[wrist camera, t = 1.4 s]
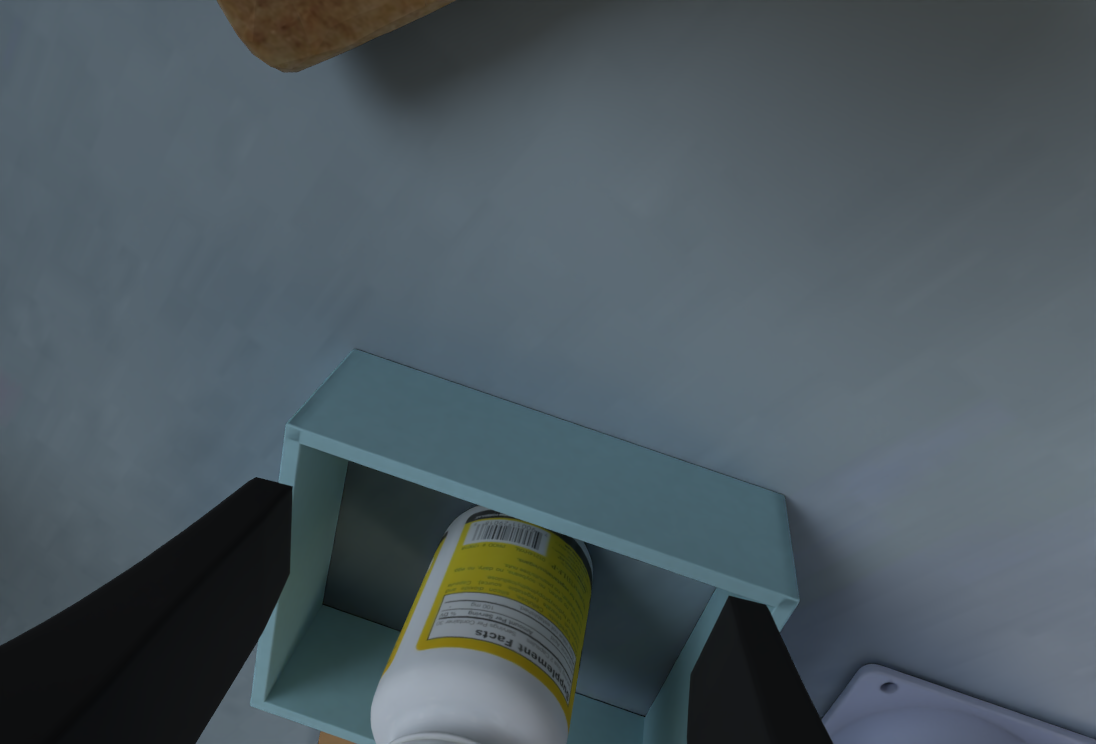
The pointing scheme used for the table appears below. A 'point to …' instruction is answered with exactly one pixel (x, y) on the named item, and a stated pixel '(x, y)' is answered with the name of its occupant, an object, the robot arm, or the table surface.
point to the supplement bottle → (489, 638)
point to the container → (518, 491)
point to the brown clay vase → (317, 26)
